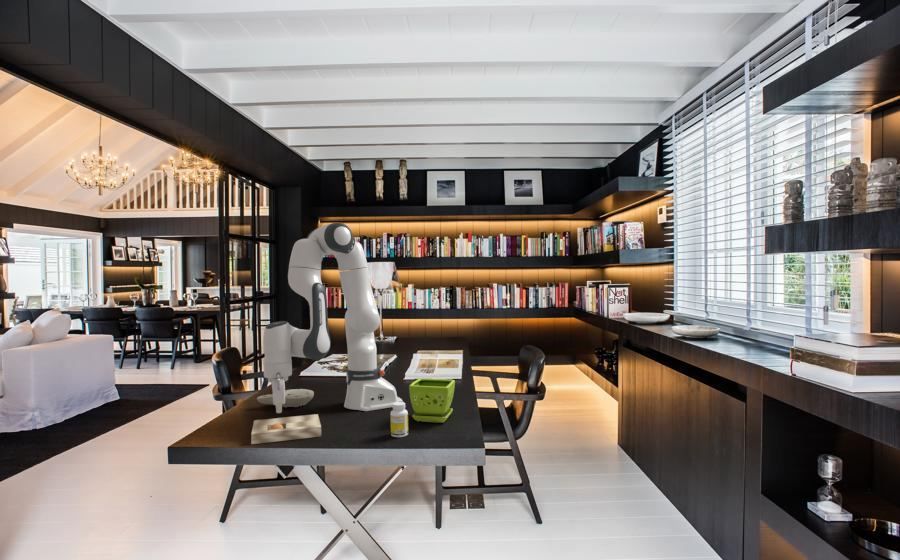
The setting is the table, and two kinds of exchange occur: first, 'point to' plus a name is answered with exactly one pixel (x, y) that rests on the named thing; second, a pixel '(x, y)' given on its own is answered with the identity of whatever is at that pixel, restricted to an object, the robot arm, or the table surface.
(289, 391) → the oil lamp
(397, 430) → the supplement bottle
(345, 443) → the table surface
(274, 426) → the ball
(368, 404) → the robot arm
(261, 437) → the hole board
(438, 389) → the flower pot
